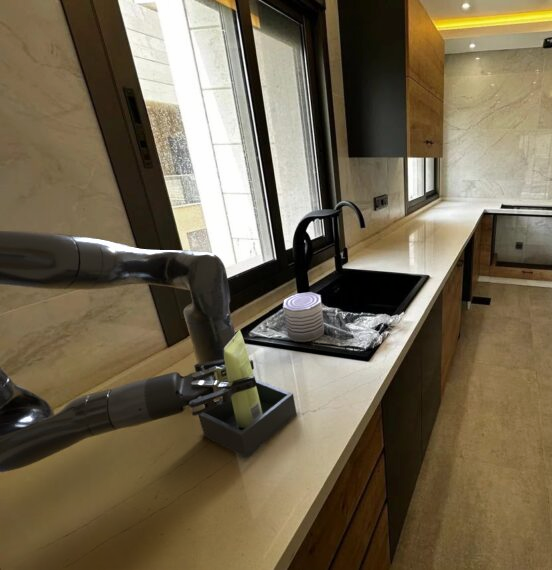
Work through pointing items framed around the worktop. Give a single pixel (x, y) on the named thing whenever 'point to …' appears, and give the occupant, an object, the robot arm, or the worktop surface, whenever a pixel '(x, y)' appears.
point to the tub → (247, 440)
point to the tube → (238, 368)
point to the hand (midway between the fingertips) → (254, 372)
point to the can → (304, 316)
